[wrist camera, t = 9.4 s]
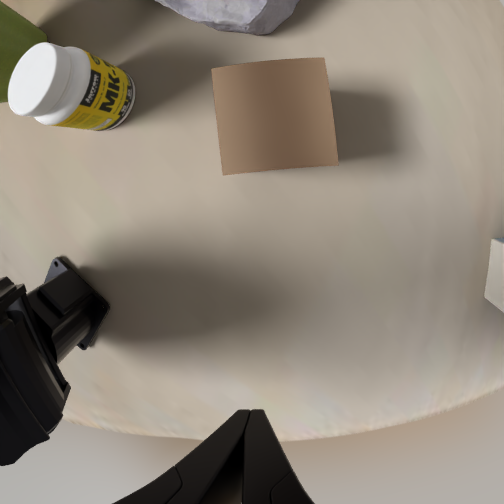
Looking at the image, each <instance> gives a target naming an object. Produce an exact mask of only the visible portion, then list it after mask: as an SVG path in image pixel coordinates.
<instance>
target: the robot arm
mask: <svg viewBox="0 0 504 504" xmlns="http://www.w3.org/2000/svg"><path fill="white" fill-rule="evenodd" d="M57 262H58V264H57ZM102 305H103V306H104V307H105V308H103V306H102ZM109 310H110V306H109V304H108V302H106V301H105V300H104V299H103V298H102V297H101V296H100V295H99V294H98V293H96V292H95V291H94V290H93V289H92V288H91V287H90V286H89V285H88V284H87V283H86V282H85V281H83V280H82V279H81V278H80V277H79V276H78V275H77V274H76V273H75V272H74V271H73V270H72V269H71V268H70V267H69V266H68V265H67V264H66V263H65V262H64V261H63V260H62V259H61V258H60V257H57V258H55V259H53V261H52V263H51V266H50V268H49V271H48V274H47V276H46V279H45V282H44V284H42V285H41V286H39V287H37V288H36V289H34V290H33V291H31V292H29V293H28V294H26V288H25V285H24V284H20V285H14V283H13V282H12V281H11V280H10V279H9V278H8V277H3V278H1V279H0V466H5V465H10V464H13V463H15V462H16V461H17V460H18V459H19V458H20V457H21V456H22V455H23V454H24V453H25V452H27V451H28V450H29V449H30V448H32V447H34V446H35V445H37V444H39V443H42V442H44V441H47V440H49V439H50V437H49V435H48V434H50V433H51V432H52V431H53V430H54V429H55V428H56V426H57V425H58V423H59V422H60V421H61V419H62V417H63V414H62V411H63V409H64V406H65V403H66V400H67V397H68V395H69V392H70V389H71V387H70V385H69V383H68V382H67V381H66V380H65V378H64V376H63V375H62V373H61V371H60V369H59V367H58V364H59V363H60V362H61V361H62V360H63V359H64V358H65V357H66V356H67V354H68V353H69V352H70V351H71V350H72V349H73V348H74V347H75V346H76V345H77V346H78V347H79V348H81V349H82V350H86V349H87V348H88V346H89V345H90V343H91V341H92V339H93V337H94V336H95V334H96V332H97V330H98V329H99V327H100V325H101V323H102V322H103V320H104V318H105V317H106V315H107V313H108V312H109ZM241 503H242V504H315V503H314V502H313V501H312V500H311V498H310V497H309V496H308V494H307V493H306V491H305V490H304V488H303V487H302V485H301V483H300V482H299V480H298V478H297V476H296V474H295V472H293V469H292V467H291V465H290V463H289V461H288V459H287V457H286V455H285V453H284V451H283V449H282V447H281V445H280V443H279V441H278V439H277V437H276V435H275V433H274V431H273V428H272V426H271V424H270V422H269V420H268V418H267V416H266V414H265V412H264V410H263V409H253V410H251V411H250V410H249V409H248V410H238V411H236V412H235V413H234V414H233V415H232V416H231V417H230V418H229V419H228V420H227V421H226V422H225V423H223V424H222V425H221V426H220V427H219V428H218V429H217V430H216V431H215V432H213V433H212V434H211V435H210V436H209V437H208V438H207V439H205V440H204V441H203V442H202V443H201V444H200V445H199V446H198V447H196V448H195V449H194V450H193V451H191V452H190V453H189V454H188V455H187V456H185V457H184V458H183V459H182V460H181V461H179V462H178V463H177V464H176V465H175V466H173V467H171V468H170V469H169V470H167V471H166V472H165V473H163V474H162V475H161V476H159V477H158V478H157V479H155V480H154V481H152V482H151V483H149V484H147V485H146V486H144V487H143V488H141V489H139V490H137V491H135V492H134V493H132V494H130V495H128V496H126V497H124V498H122V499H121V500H119V501H117V502H115V503H113V504H241Z"/></svg>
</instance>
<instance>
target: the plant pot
mask: <svg viewBox="0 0 504 504" xmlns="http://www.w3.org/2000/svg"><path fill="white" fill-rule="evenodd" d="M43 42H47V36H46V34H45V33H44V32H43V31H42V30H40V29H39V28H38V27H36V26H35V25H34V24H32V23H31V22H30V21H28V20H27V19H25V18H24V17H23V16H21V15H20V14H18V13H17V12H15V11H14V10H13V9H11V8H10V7H8V6H7V5H5V4H4V3H2V2H1V1H0V103H2V102H8V87H9V82H10V79H11V76H12V73H13V71H14V69H15V67H16V65H17V63H18V62H19V60H20V59H21V57H22V56H23V55H24V54H25V53H26V52H27V51H28V50H29V49H30V48H32V47H33V46H35V45H37V44H39V43H43Z"/></svg>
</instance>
